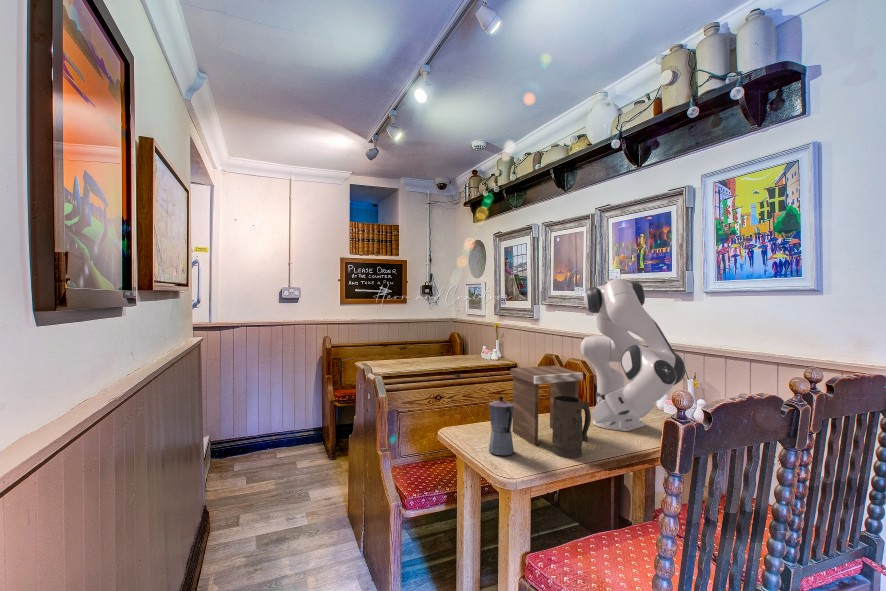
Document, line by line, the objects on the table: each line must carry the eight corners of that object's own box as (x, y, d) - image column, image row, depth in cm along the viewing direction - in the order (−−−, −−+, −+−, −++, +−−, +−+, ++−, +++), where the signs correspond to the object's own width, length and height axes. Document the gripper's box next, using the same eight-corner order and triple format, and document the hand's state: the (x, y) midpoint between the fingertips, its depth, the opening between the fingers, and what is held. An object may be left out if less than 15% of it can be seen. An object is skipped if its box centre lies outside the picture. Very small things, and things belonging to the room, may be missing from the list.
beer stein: (565, 460, 144) (569, 402, 144) (543, 449, 153) (547, 395, 154) (596, 455, 151) (599, 400, 152) (573, 445, 160) (577, 393, 161)
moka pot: (504, 443, 159) (504, 391, 159) (524, 459, 145) (525, 401, 145) (481, 446, 156) (482, 393, 156) (499, 462, 142) (500, 403, 141)
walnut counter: (553, 426, 180) (554, 365, 180) (581, 440, 164) (582, 373, 163) (509, 432, 172) (510, 368, 172) (534, 447, 155) (535, 376, 155)
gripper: (653, 388, 132) (628, 411, 141) (602, 394, 125) (580, 417, 134) (665, 406, 128) (638, 428, 137) (613, 413, 120) (589, 435, 130)
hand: (609, 423), depth 135 cm, fingers closed
